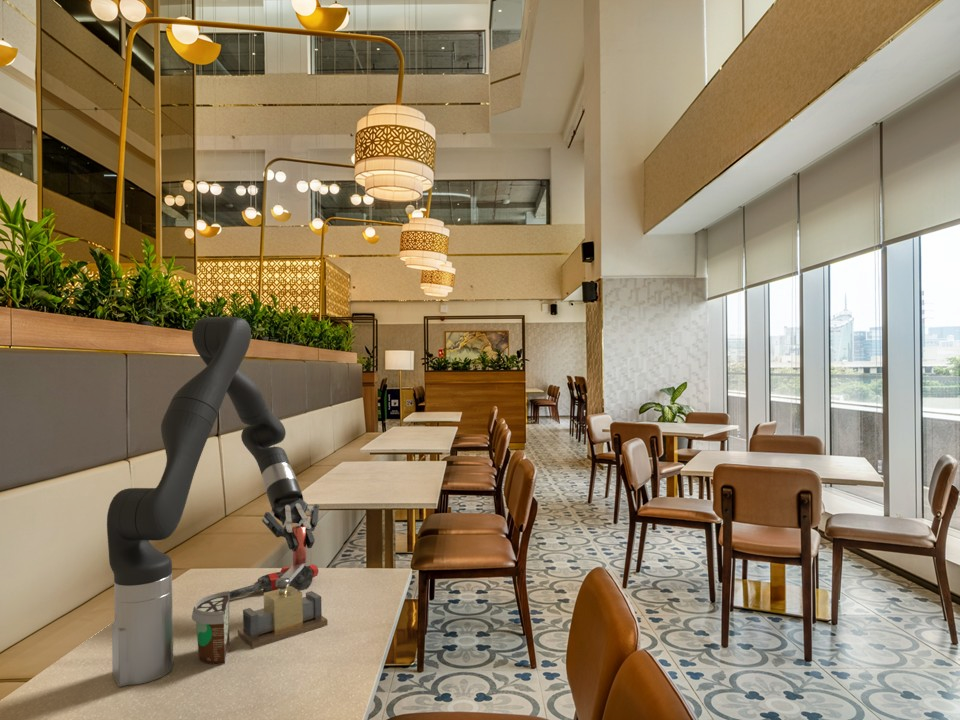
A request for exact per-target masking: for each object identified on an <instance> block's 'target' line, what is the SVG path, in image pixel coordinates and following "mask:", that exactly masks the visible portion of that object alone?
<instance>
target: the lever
mask: <svg viewBox="0 0 960 720" xmlns="http://www.w3.org/2000/svg"><path fill="white" fill-rule="evenodd" d="M293 532H294V535H295V538H296V541H297V544H298V548H297V550H296V551H292V565H291V566H290V567H291V568H290V569H289V570H288V571H287V572H286V573H285V574H284V575H283V576H282V577H281V578H279V579H277V580H276V587H277V588H285V587H288V586H289V585H290V582H291V581H292V580H293V578H294V577H295V576H296V575H297V574H298V573H299V572H300V571H301V570H302V569H303V567H304V566H305V564H306V563H307V545H306V526H297V525H296V526H292V533H293Z"/></svg>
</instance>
